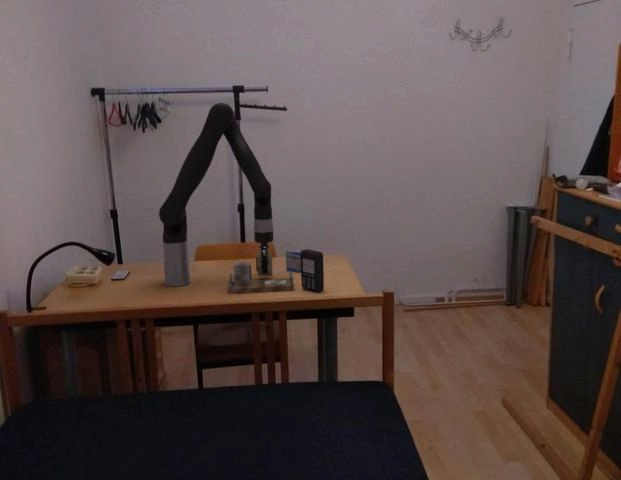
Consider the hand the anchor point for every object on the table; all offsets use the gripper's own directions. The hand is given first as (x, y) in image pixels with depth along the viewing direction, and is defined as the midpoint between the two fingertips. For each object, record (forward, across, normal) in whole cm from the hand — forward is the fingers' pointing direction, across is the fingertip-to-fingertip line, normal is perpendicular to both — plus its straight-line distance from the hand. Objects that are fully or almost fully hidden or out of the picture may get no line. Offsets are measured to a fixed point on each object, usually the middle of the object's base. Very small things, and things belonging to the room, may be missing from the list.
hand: (264, 271), depth 237 cm
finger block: (+1, 0, 0) cm, 1 cm away
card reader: (+3, +18, +17) cm, 25 cm away
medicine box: (+3, -11, +14) cm, 18 cm away
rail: (+3, +13, -2) cm, 13 cm away
